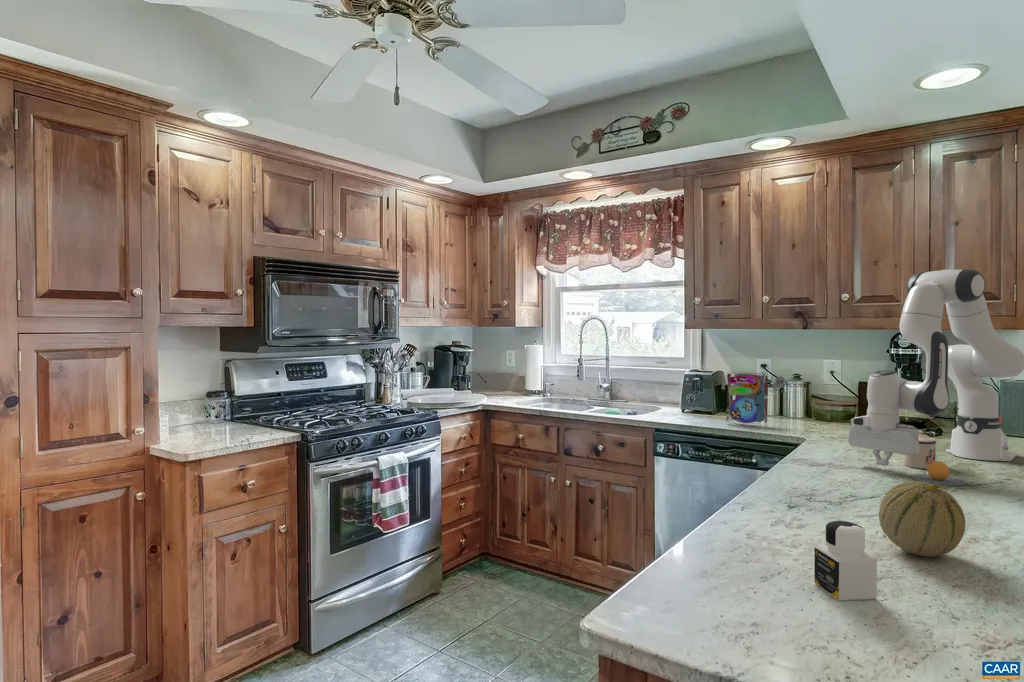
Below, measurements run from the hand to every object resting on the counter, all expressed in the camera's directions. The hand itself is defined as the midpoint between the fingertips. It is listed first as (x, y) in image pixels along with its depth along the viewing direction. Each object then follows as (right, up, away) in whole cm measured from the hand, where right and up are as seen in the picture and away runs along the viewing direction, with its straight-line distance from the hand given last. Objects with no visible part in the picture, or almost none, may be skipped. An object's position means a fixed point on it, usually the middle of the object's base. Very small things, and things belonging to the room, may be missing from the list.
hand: (882, 464), depth 193 cm
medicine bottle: (-60, -5, -86) cm, 105 cm away
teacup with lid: (+16, -2, +5) cm, 17 cm away
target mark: (+9, -2, -13) cm, 16 cm away
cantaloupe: (-35, -4, -70) cm, 78 cm away
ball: (+9, +1, -13) cm, 16 cm away
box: (-8, 0, +80) cm, 81 cm away
